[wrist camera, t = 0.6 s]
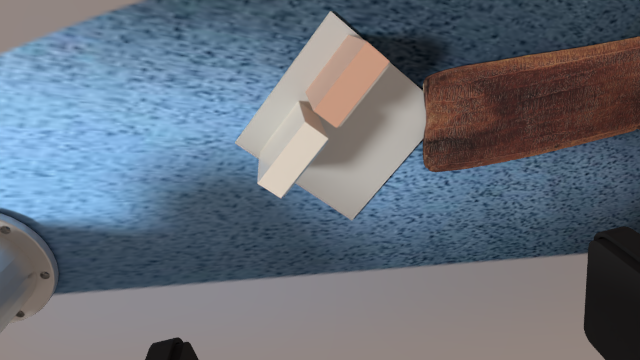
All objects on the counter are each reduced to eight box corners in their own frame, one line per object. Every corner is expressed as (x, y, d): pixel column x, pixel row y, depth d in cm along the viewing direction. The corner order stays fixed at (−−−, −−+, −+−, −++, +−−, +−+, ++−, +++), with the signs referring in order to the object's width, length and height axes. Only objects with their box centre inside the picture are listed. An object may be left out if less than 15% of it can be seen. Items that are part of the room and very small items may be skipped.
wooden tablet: (708, 26, 37) (693, 135, 40) (684, 28, 39) (672, 131, 42) (423, 70, 35) (430, 181, 38) (414, 70, 37) (421, 174, 40)
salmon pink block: (326, 108, 36) (338, 129, 30) (305, 91, 36) (313, 110, 29) (369, 52, 35) (392, 63, 29) (348, 34, 34) (366, 41, 28)
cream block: (280, 167, 38) (282, 199, 32) (259, 153, 37) (257, 183, 31) (319, 116, 37) (330, 140, 30) (298, 101, 36) (305, 121, 30)
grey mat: (351, 218, 42) (351, 220, 41) (235, 141, 37) (234, 143, 37) (444, 110, 38) (446, 111, 38) (330, 11, 34) (330, 11, 33)
